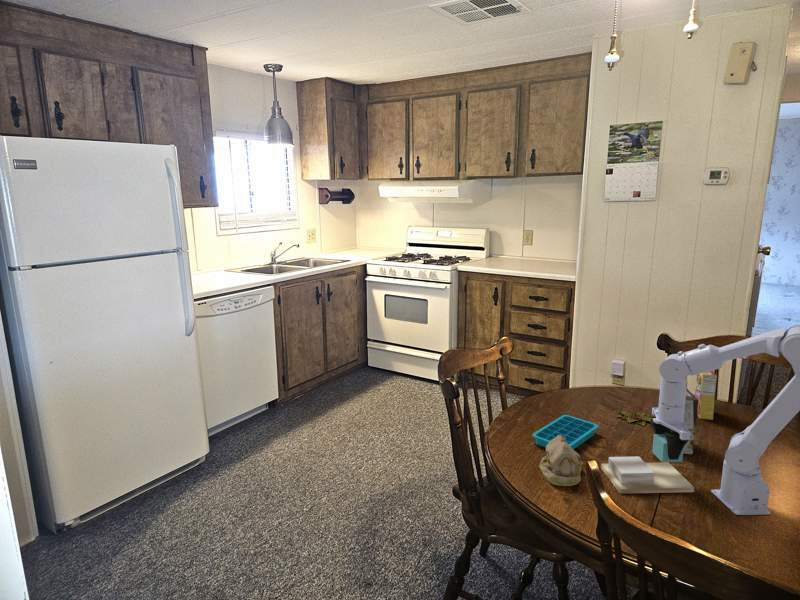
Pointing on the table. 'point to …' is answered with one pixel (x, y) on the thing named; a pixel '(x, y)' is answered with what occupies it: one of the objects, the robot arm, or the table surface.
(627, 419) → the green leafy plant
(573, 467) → the ceramic model
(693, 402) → the coffee box
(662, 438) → the teal cube
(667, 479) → the stacking base
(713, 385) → the candy box
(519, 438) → the table surface
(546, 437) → the ice cube tray
